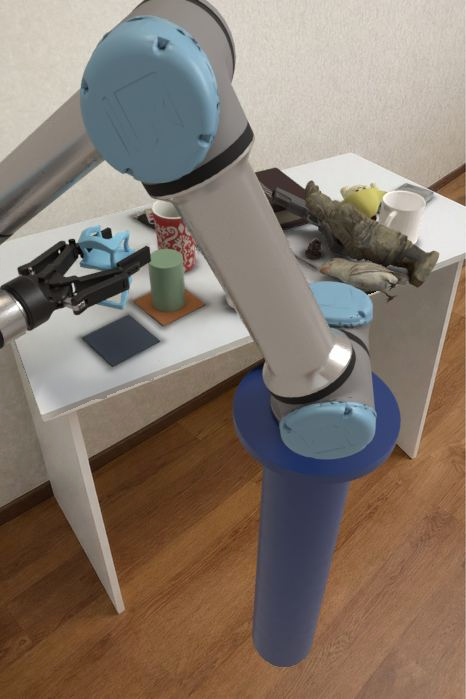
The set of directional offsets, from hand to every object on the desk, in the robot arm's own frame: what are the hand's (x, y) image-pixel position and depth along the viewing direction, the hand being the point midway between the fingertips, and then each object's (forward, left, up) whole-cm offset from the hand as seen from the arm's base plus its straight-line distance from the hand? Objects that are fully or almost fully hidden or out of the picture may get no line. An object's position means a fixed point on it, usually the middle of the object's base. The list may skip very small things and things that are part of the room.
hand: (129, 244), depth 97 cm
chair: (-1, +5, -7) cm, 9 cm away
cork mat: (+2, -8, -18) cm, 20 cm away
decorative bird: (-26, -40, -15) cm, 50 cm away
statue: (-26, -52, -16) cm, 60 cm away
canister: (+2, -8, -17) cm, 19 cm away
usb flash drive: (+30, -25, -16) cm, 43 cm away
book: (+18, -41, -18) cm, 48 cm away
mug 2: (-12, -59, -18) cm, 63 cm away
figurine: (-5, -41, -18) cm, 45 cm away
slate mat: (-1, +5, -18) cm, 18 cm away
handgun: (-5, -41, -13) cm, 43 cm away
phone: (-3, -76, -18) cm, 78 cm away
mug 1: (+13, -18, -18) cm, 29 cm away
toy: (+6, -67, -16) cm, 69 cm away
